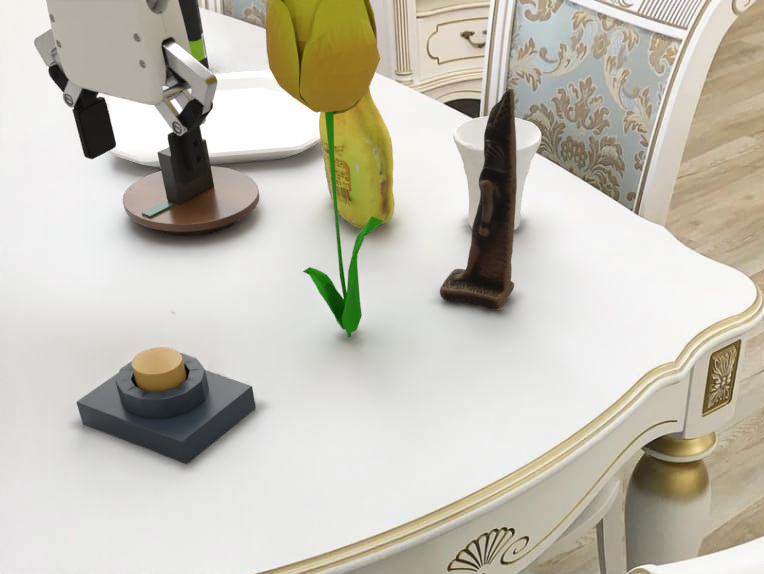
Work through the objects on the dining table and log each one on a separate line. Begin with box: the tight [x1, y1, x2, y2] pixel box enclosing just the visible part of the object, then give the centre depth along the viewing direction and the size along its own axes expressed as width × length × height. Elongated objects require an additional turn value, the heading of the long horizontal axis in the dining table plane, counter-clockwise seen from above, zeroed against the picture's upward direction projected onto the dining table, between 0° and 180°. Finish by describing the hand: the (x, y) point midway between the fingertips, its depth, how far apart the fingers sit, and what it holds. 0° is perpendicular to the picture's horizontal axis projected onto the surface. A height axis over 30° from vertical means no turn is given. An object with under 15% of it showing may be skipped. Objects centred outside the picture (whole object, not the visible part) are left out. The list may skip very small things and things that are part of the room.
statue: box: [439, 88, 517, 310], centre depth 100 cm, size 4×7×20 cm, turn 71°
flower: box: [265, 0, 383, 338], centre depth 91 cm, size 9×8×30 cm
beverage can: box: [178, 0, 210, 70], centre depth 140 cm, size 6×6×15 cm
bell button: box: [131, 346, 186, 391], centre depth 90 cm, size 4×4×2 cm
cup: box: [452, 115, 542, 231], centre depth 114 cm, size 9×9×10 cm
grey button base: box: [76, 352, 257, 465], centre depth 91 cm, size 11×9×4 cm
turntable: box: [122, 138, 260, 232], centre depth 115 cm, size 14×14×6 cm
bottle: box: [319, 87, 395, 230], centre depth 112 cm, size 12×6×20 cm, turn 25°
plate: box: [108, 69, 321, 169], centre depth 133 cm, size 25×25×2 cm
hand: (146, 165), depth 91 cm, fingers open, 9 cm apart
